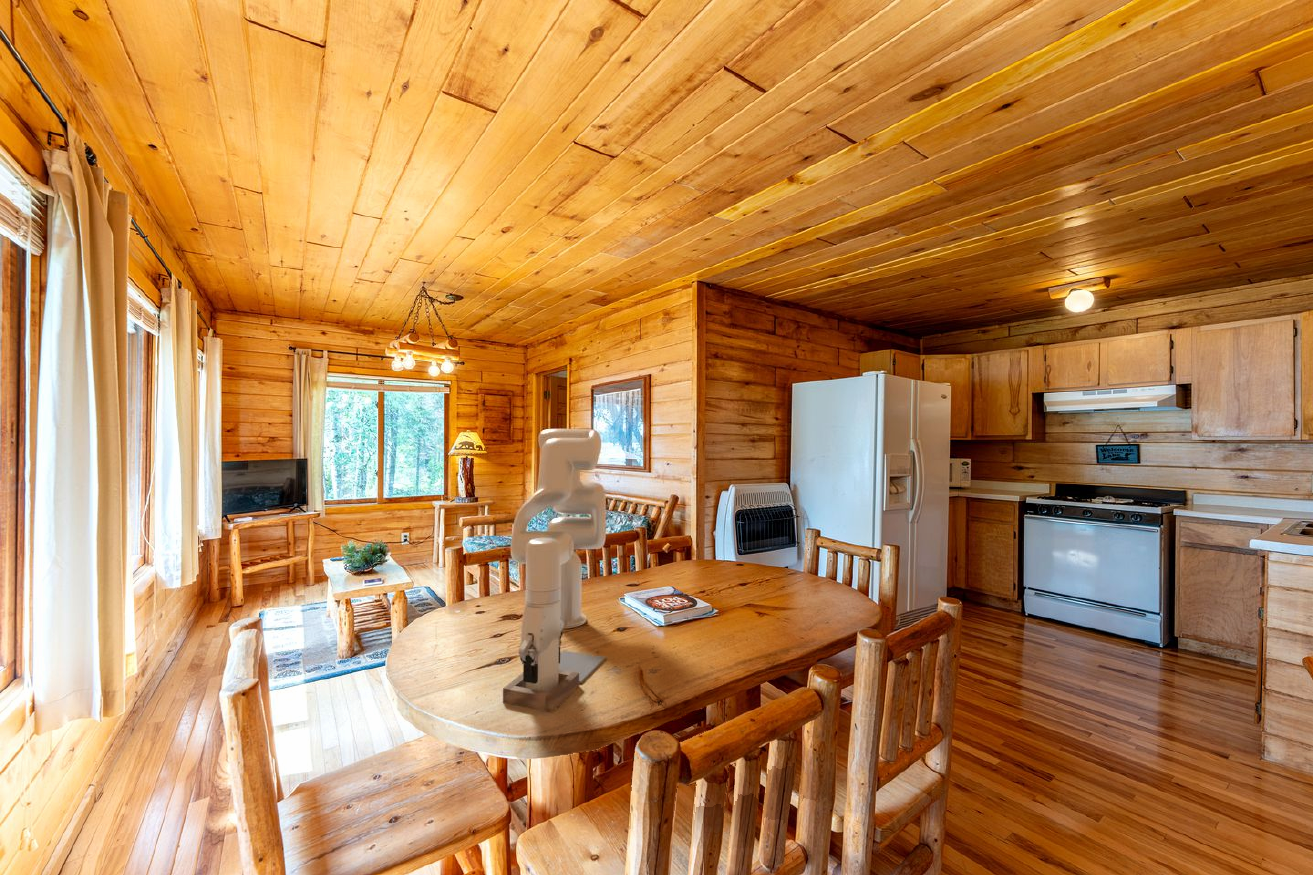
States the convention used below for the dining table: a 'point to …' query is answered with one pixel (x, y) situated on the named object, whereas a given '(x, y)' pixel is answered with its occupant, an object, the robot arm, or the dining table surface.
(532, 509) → the robot arm
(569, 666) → the rubber mat
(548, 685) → the skincare box
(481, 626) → the dining table surface
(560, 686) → the square box holder
